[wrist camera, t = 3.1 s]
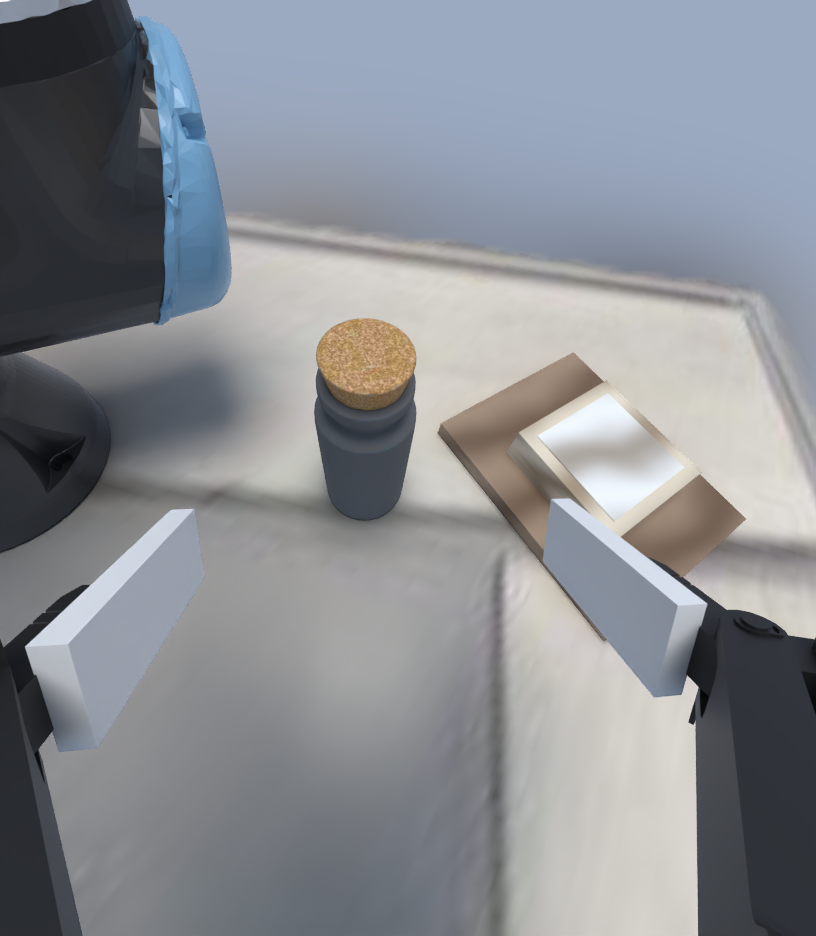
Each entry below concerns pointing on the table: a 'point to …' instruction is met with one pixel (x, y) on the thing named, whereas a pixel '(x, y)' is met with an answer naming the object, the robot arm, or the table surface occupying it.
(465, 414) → the plinth
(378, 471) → the bottle
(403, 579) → the table surface
